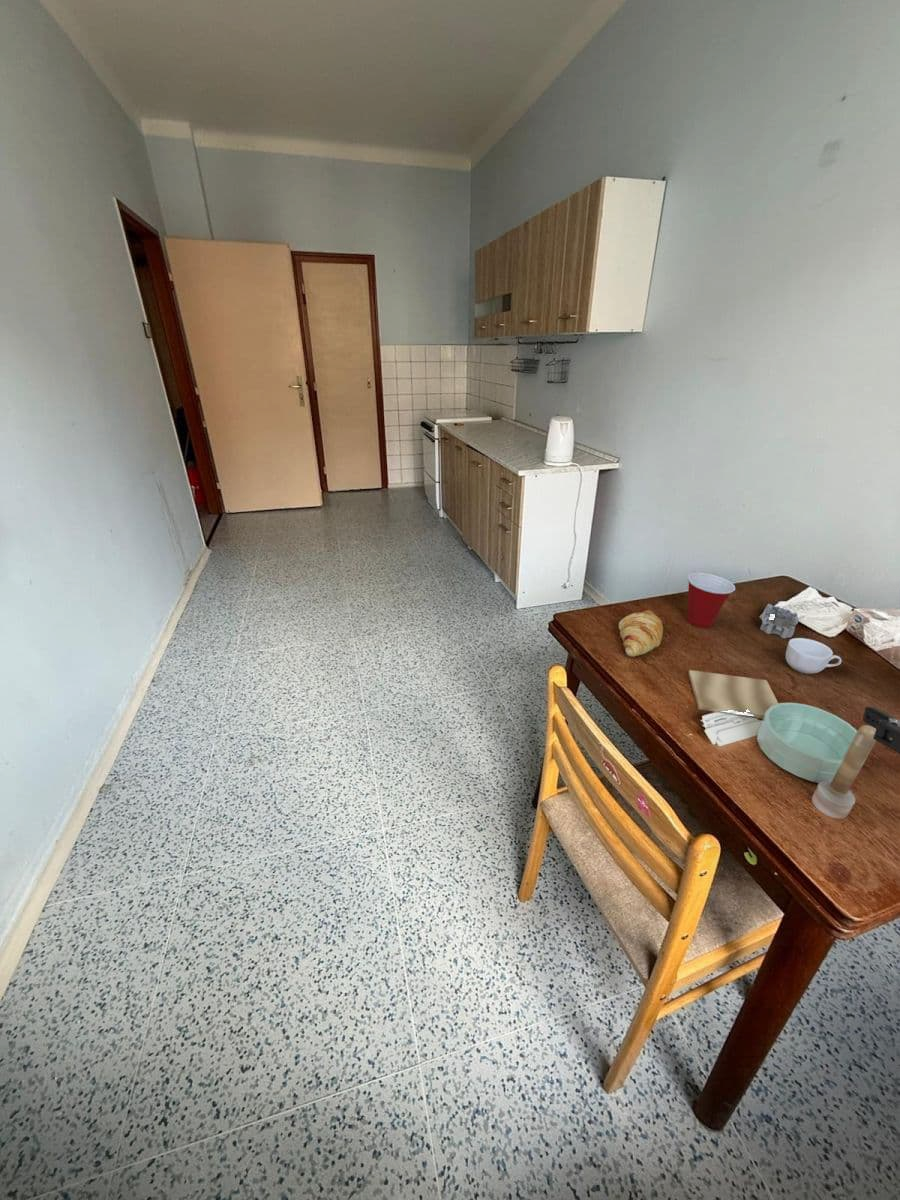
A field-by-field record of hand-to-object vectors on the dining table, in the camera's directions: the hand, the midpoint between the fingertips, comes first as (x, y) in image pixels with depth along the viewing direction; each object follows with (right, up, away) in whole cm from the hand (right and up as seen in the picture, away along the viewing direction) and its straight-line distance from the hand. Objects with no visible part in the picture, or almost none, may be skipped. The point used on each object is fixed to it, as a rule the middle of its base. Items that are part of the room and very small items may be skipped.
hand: (899, 715), depth 62 cm
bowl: (+3, -12, +20) cm, 24 cm away
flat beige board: (-1, -4, +34) cm, 34 cm away
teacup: (+20, 0, +42) cm, 46 cm away
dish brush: (0, -17, +11) cm, 20 cm away
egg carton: (+23, +8, +57) cm, 62 cm away
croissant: (-13, +5, +54) cm, 55 cm away
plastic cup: (+6, +9, +60) cm, 61 cm away
